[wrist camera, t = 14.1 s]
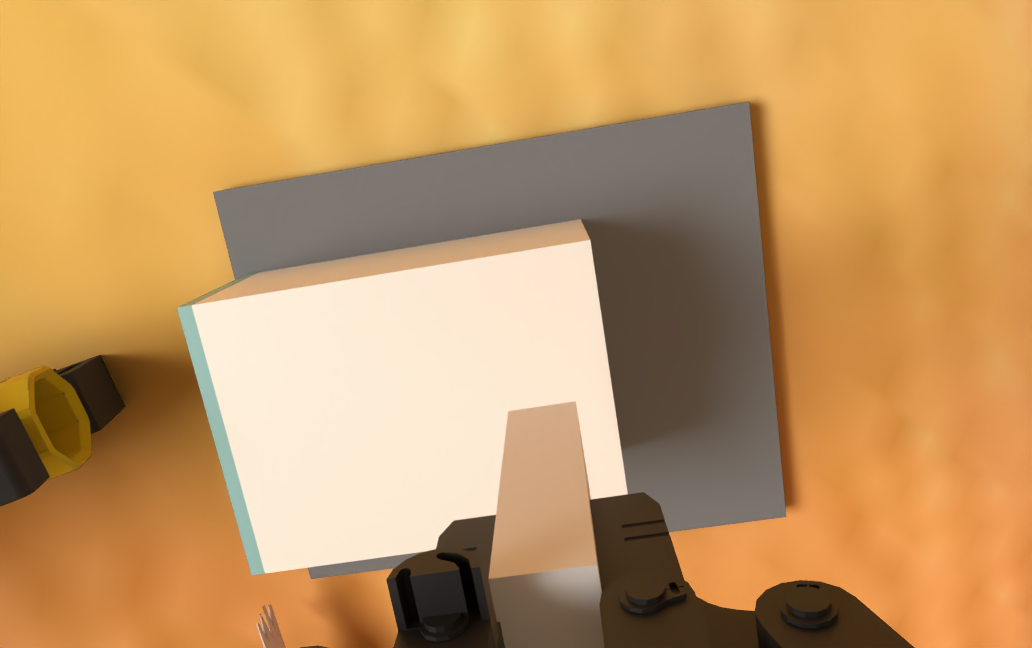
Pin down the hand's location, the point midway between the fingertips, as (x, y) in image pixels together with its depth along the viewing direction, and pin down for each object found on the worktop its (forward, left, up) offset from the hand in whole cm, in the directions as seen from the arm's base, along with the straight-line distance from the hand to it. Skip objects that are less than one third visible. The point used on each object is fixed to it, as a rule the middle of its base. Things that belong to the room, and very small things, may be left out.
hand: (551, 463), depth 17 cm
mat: (0, -1, -9) cm, 9 cm away
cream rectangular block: (0, +2, -6) cm, 7 cm away
